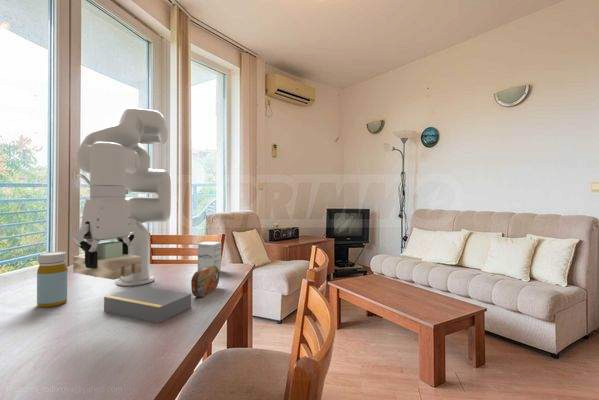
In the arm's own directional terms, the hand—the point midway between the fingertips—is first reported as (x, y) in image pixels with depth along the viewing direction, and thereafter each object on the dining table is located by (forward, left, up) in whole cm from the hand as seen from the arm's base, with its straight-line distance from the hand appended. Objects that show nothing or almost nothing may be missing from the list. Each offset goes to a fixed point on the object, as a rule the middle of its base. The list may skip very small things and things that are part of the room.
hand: (107, 263), depth 77 cm
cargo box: (0, 0, +2) cm, 2 cm away
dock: (0, +12, -16) cm, 20 cm away
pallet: (0, 0, -2) cm, 2 cm away
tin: (+5, +31, -16) cm, 36 cm away
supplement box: (-11, +54, -16) cm, 58 cm away
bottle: (-29, +4, -16) cm, 33 cm away
